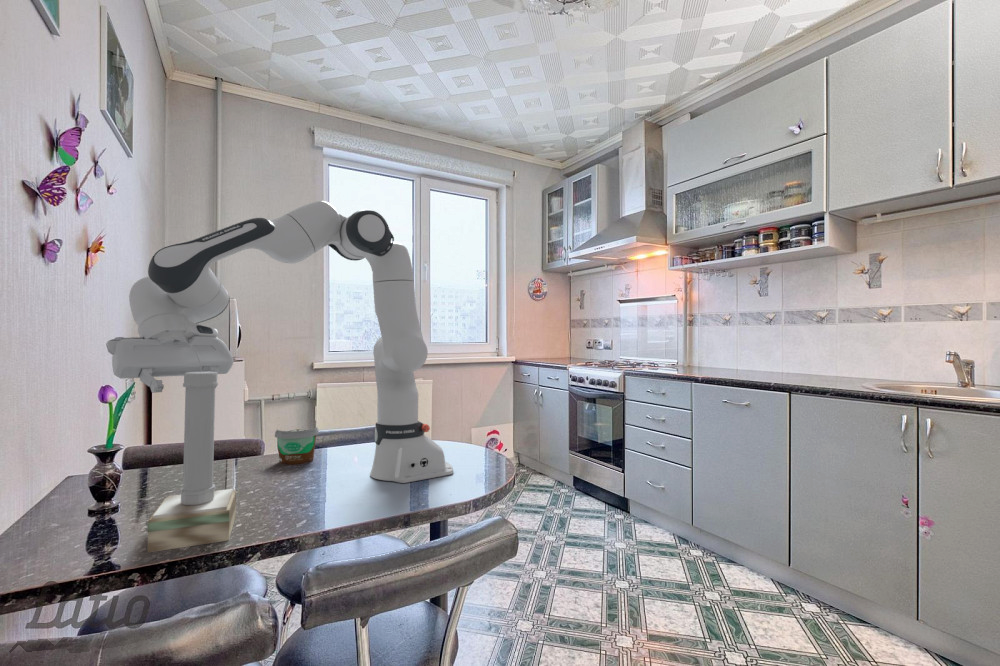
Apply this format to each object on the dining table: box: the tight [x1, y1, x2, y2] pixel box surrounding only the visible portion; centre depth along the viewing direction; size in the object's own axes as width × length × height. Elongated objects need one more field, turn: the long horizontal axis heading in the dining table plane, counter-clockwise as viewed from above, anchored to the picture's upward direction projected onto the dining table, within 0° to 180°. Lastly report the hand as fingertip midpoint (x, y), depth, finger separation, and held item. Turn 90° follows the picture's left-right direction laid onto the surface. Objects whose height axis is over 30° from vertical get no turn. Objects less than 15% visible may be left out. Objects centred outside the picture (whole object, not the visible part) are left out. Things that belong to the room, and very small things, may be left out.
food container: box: [274, 426, 320, 466], centre depth 135 cm, size 12×6×10 cm, turn 114°
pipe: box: [179, 342, 219, 506], centre depth 86 cm, size 6×6×30 cm
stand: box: [147, 488, 237, 553], centre depth 86 cm, size 12×12×6 cm
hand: (186, 388), depth 89 cm, fingers open, 8 cm apart
